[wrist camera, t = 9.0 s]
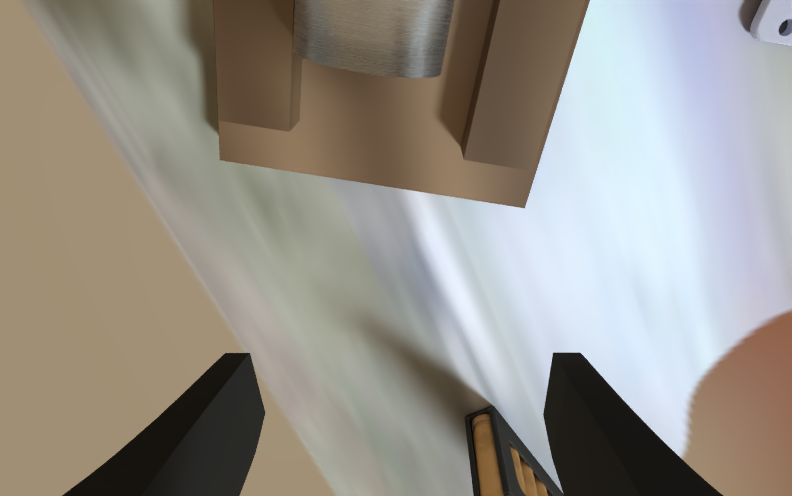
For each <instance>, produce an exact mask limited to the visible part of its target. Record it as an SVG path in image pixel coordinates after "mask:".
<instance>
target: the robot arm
mask: <svg viewBox="0 0 792 496" xmlns="http://www.w3.org/2000/svg"><path fill="white" fill-rule="evenodd" d="M785 20H787V22H788V26H787V29H786V30H785V31H784V32H783V33H781V34H779V31H778V30H779V26H780V25H781V24H782V22H784V21H785ZM750 32H751V35H752V37H753V38H754V39H757V40H760V41H766V42H772V43H777V44H783V45H789V46H792V0H762V2H761V4H760V6H759V8H758V10H757V13H756V15H755V17H754V19H753V21H752V24H751V27H750ZM543 415H544V420H545V425H546V431H547V436H548V441H549V445H550V450H551V455H552V459H553V462H554V465H555V468H556V471H557V475H558V478H559V481H560V484H561V487H562V490H563V493H564V496H723V495H722V494H720V493H719V492H718V491H717V490H716V489H714V488H713V487H712V486H711V485H710V484H708V483H707V482H706V481H705V480H704V479H703V478H702V477H701V476H699V475H698V474H697V473H696V472H695V471H694V470H693V469H691V467H689V466H688V465H687V464H686V463H685V462H684V461H683V460H682V459H681V458H680V457H679V456H678V455H677V454H676V453H675V452H674V451H673V450H672V449H670V448H669V447H668V446H667V445H666V444H665V443H664V442H663V441H662V440H661V439H660V438H659V437H658V436H657V435H656V434H655V433H654V432H653V431H652V430H651V429H650V428H649V427H648V426H647V425H646V424H645V422H644V421H643V420H642V419H641V418H640V417H639V416H638V415H637V414H636V413H635V412H634V411H633V410H632V409H631V408H630V407H629V406H628V405H627V404H626V403H625V402H624V401H623V399H622V398H621V397H620V396H619V395H618V394H617V393H616V392H615V391H614V390H613V388H612V387H611V386H610V385H609V384H608V383H607V382H606V381H605V380H604V378H603V377H602V376H601V375H600V374H599V373H598V372H597V371H596V369H595V368H594V367H593V366H592V365H591V364H590V363H589V362H588V360H587V359H586V358H585V357H584V356H583V355H582V354H581V353H553V358H552V364H551V370H550V377H549V383H548V389H547V395H546V402H545V408H544V414H543ZM264 416H265V410H264V406H263V402H262V399H261V395H260V391H259V387H258V383H257V379H256V375H255V371H254V367H253V363H252V359H251V356H250V353H225V354H224V355H223V356H222V357H221V358H220V359H219V360H218V361H216V363H214V364H213V365H212V366H211V367H210V368H209V369H208V370H207V371H206V372H205V373H204V374H203V375H202V376H201V377H200V378H199V379H198V380H197V381H196V382H195V383H194V384H193V385H192V386H191V387H190V388H189V389H187V390H186V391H185V392H184V393H183V394H182V395H181V396H180V397H179V398H178V399H177V400H176V401H175V402H174V403H173V404H172V405H170V406H169V407H168V408H167V409H166V410H165V411H164V412H163V413H162V414H161V415H160V416H159V417H158V418H157V419H155V420H154V421H153V422H152V423H151V424H150V425H149V426H148V427H146V428H145V429H144V430H143V431H142V432H141V433H139V434H138V435H137V436H136V437H135V438H134V439H133V440H131V441H130V442H129V443H128V444H127V445H126V446H124V447H123V448H122V449H121V450H120V451H119V452H118V453H116V455H114V456H113V457H112V458H110V459H109V460H108V461H107V462H106V463H104V464H103V465H102V466H100V467H99V468H98V469H97V470H95V471H94V472H93V473H92V474H90V475H89V476H88V477H86V478H85V479H84V480H82V481H81V482H80V483H79V484H77V485H76V486H74V487H73V488H72V489H71V490H70V491H68V492H67V493H65V494H64V495H63V496H239V495H240V493H241V490H242V487H243V485H244V482H245V479H246V477H247V474H248V472H249V469H250V466H251V464H252V461H253V458H254V455H255V452H256V448H257V444H258V441H259V437H260V433H261V429H262V424H263V420H264Z"/></svg>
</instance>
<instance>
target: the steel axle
mask: <svg viewBox="0 0 792 496" xmlns="http://www.w3.org/2000/svg"><path fill="white" fill-rule="evenodd" d="M454 3H455V0H295V9H294V37H293V53H294V54H296V55H297V56H299V57H301V58H303V59H306V60H309V61H312V62H315V63H318V64H322V65H326V66H330V67H334V68H339V69H344V70H349V71H354V72H360V73H366V74H373V75H381V76H390V77H402V78H432V77H437V76H440V75H441V72H442V67H443V61H444V56H445V51H446V45H447V40H448V35H449V29H450V24H451V19H452V13H453V8H454Z"/></svg>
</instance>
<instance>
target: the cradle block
mask: <svg viewBox="0 0 792 496" xmlns="http://www.w3.org/2000/svg"><path fill="white" fill-rule="evenodd" d="M589 1H590V0H455V3H454V8H453V13H452V19H451V24H450V29H449V35H448V40H447V45H446V51H445V56H444V61H443V67H442V72H441V75H440V76H437V77H432V78H402V77H390V76H381V75H373V74H366V73H360V72H354V71H349V70H344V69H339V68H334V67H330V66H326V65H322V64H318V63H315V62H312V61H309V60H306V59H303V58H301V57H299V56H297V55H296V54H294V53H293V37H294V9H295V0H213V6H214V30H215V54H216V78H217V102H218V126H219V150H220V160H223V161H229V162H235V163H242V164H248V165H254V166H261V167H267V168H273V169H280V170H286V171H292V172H299V173H305V174H311V175H318V176H324V177H330V178H337V179H343V180H349V181H356V182H362V183H369V184H375V185H381V186H388V187H394V188H400V189H407V190H413V191H419V192H426V193H432V194H438V195H445V196H451V197H457V198H464V199H470V200H476V201H483V202H489V203H495V204H502V205H508V206H514V207H521V208H525V205H526V202H527V199H528V196H529V193H530V189H531V186H532V183H533V180H534V177H535V173H536V170H537V167H538V164H539V161H540V158H541V154H542V151H543V148H544V145H545V142H546V138H547V135H548V132H549V129H550V126H551V122H552V119H553V116H554V113H555V110H556V106H557V103H558V100H559V97H560V94H561V91H562V87H563V84H564V81H565V78H566V75H567V71H568V68H569V65H570V62H571V59H572V55H573V52H574V49H575V46H576V43H577V40H578V36H579V33H580V30H581V27H582V24H583V20H584V17H585V14H586V11H587V8H588V4H589Z"/></svg>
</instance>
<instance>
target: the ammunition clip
mask: <svg viewBox="0 0 792 496" xmlns="http://www.w3.org/2000/svg"><path fill="white" fill-rule="evenodd" d="M465 425H466V433H467V442H468V450H469V459H470V468H471V476H472V485H473V493H474V496H564V494H563V493H562V492H561V490H560V489H559V488H558V487H557V485H556V484H555V483H554V482H553V480H552V479H551V478H550V476H549V475H548V474H547V473H546V471H545V470H544V469H543V468H542V466H541V465H540V464H539V463H538V461H537V460H536V459H535V457H534V456H533V455H532V454H531V452H530V451H529V450H528V449H527V447H526V446H525V445H524V444H523V442H522V441H521V440H520V438H519V437H518V436H517V435H516V433H515V432H514V431H513V430H512V428H511V427H510V426H509V425H508V423H507V422H506V421H505V419H504V418H503V417H502V416H501V414H500V413H499V412H498V411H497V409H496V408H495V407H489V408H487V409H484V410H482V411H479V412H477V413H474V414H472V415H469V416H467V417H465Z"/></svg>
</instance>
